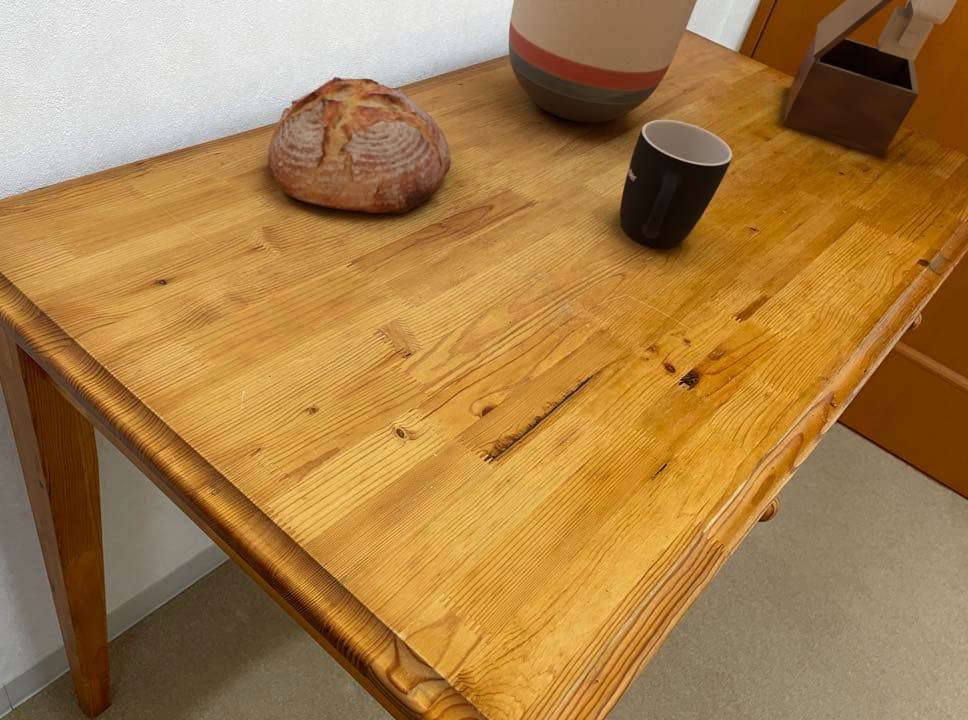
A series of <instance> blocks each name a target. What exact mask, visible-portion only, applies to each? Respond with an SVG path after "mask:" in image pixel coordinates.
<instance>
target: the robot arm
mask: <svg viewBox="0 0 968 720" xmlns="http://www.w3.org/2000/svg"><path fill="white" fill-rule="evenodd" d="M957 1H958V0H907V2H906V5H905V7H904V8H905V9H908V10H912V11H913V13H912V15H911V18H910V20H909V22H908V24H907V25H906V27H905V28H904V29H903V31H902V33H901V35H900V37H899V39H898V44H899V45H900V46H903V47H906V48H911V47H912V46H913V44H914V43H915V41H916V39H917V37H918V36H919V34H920V33H921V32H922V31H923V30H924V28H925V27H926V26H927V25H928V23H929V22H931V23H933V24H935V25H942V24H943V23H944V22H945V21H946V20H947V19H948V17H949V16H950V14H951V12H952V10H953V8H954V7H955V6H956V3H957Z"/></svg>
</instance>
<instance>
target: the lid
mask: <svg viewBox="0 0 968 720" xmlns="http://www.w3.org/2000/svg"><path fill="white" fill-rule="evenodd" d="M893 1H894V0H845V1H844V2H843V3H841V4H840V5H839V6H838V7H836V8H835V9H834V10H833V11H831V12H829V14H828V15H826V16H825V17H824V18H823V19H822V20H821V21H819V22H818V23H817V27H816V32H817V34H816V33H815V34H816V41H815V49H814V57H815V58H816V59H817V60H818V59H819V58H821V57H822V56H823V55H825V54H826V53H827V52H828V51H830V50H831V49H832V48H833V47H835V46H836V45H837V44H838V43H840V42H841V41H842V40H843V39H845V38H848V37H849V36H850V35H851V34H853V33H854V32H855V31H856V30H857V29H859V28H860V27H861V26H862V25H864V24H865V23H866V22H867V21H869V20H870V19H871V18H873V17H874V16H875V15H876V14H878V13H879V12H880V11H881V10H883V9H884V8H885V7H886V6H888V5H889V4H890V3H891V2H893Z"/></svg>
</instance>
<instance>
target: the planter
mask: <svg viewBox="0 0 968 720" xmlns="http://www.w3.org/2000/svg"><path fill="white" fill-rule="evenodd" d="M697 1H698V0H513V2H512V8H511V13H510V19H509V28H508V55H509V60H510V66H511V68H512V72H513V74H514V76H515V78H516V80H517V83H518V84H519V86H520V87H521V88H522V90H523V91H524V93H525V94H526V95H527V96H528V97H529V98H530V100H531V101H532V102H534V103H535V104H536V105H537V106H538V107H540V108H541V109H543V110H544V111H546V112H548V113H550V114H551V115H552V114H553V115H554V116H556V117H559V118H562V119H565V120H569V121H573V122H578V123H600V122H601V123H602V122H607V121H611V120H613V119H617V118H620V117H622V116H625V115H626V114H628V113H630V112H632V111H633V110H636V109H637V108H638V107H640V106H641V105H643V104H644V103H645V102H646V101H647V100H648V99H649V98H650V97H651V96H652V94H653V93H654V92H655V91H656V89H657V88H658V87H659V85H660V84H661V82H662V80H663V78H664V77H665V75H666V74H667V72H668V70H669V68H670V66H671V64H672V62H673V60H674V57H675V54H676V53H677V50H678V48H679V46H680V44H681V41H682V39H683V36H684V34H685V31H686V30H687V27H688V25H689V22H690V19H691V17H692V15H693V12H694V9H695V6H696V4H697Z"/></svg>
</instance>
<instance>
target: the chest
mask: <svg viewBox="0 0 968 720" xmlns="http://www.w3.org/2000/svg"><path fill="white" fill-rule="evenodd" d="M816 34H817V31H816V32H815V34H814V36H813V39H812V41H811V43H810V45H809V47H808V48H807V51H806V53H805V56H804V57H803V59H802V61H801V63H800V66H799V68H798V70H797V72H796V74H795V76H794V77H793V78H794V79H793V80H792V81H791V82H792V83H791V85H790V87H789V90H788V95H787V101H786V105H785V111H784V115H783V122H782V126H783V127H787V128H790V129H793V130H796V131H799V132H802V133H805V134H808V135H810V136H814V137H818V138H821V139H824V140H826V141H830V142H833V143H835V144H839V145H842V146H845V147H848V148H851V149H854V150H857V151H860V152H863V153H866V154H870V155H872V156H876V157H880V158H883V157H884V155H885V154H886V152H887V150H888V148H889V147H890V145H891V143H892V142H893V140H894V138H895V136H896V135H897V134H898V131H899V129H900V127H902V125H903V123H904V121H905V119H906V118H907V116H908V114H909V113H910V111H911V110H912V107H913V106H914V104H915V103H916V100H917V99H918V97H919V95H920V93H919V86H918V80H917V74H916V67H915V62H914V61H915V60H914V61H911V60H907V59H904V58H901V57H898V56H894V55H891V54H888V53H885V52H881V51H879V47H877V46H875V45H871V44H867V43H864V42H861V41H857V40H854V39H852V38H851V39H850V38H848V37H846V38H845V39H843V40H842V41H841V42H840V43H838V44H837V45H836V46H835V47H833V48H832V49H831V50H830V51H828V52H827V53H826V54H825V55H823V56H822V57H821V58H819V59H818V60H817V59H816V58H815V57H814V49H815V41H816Z"/></svg>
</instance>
